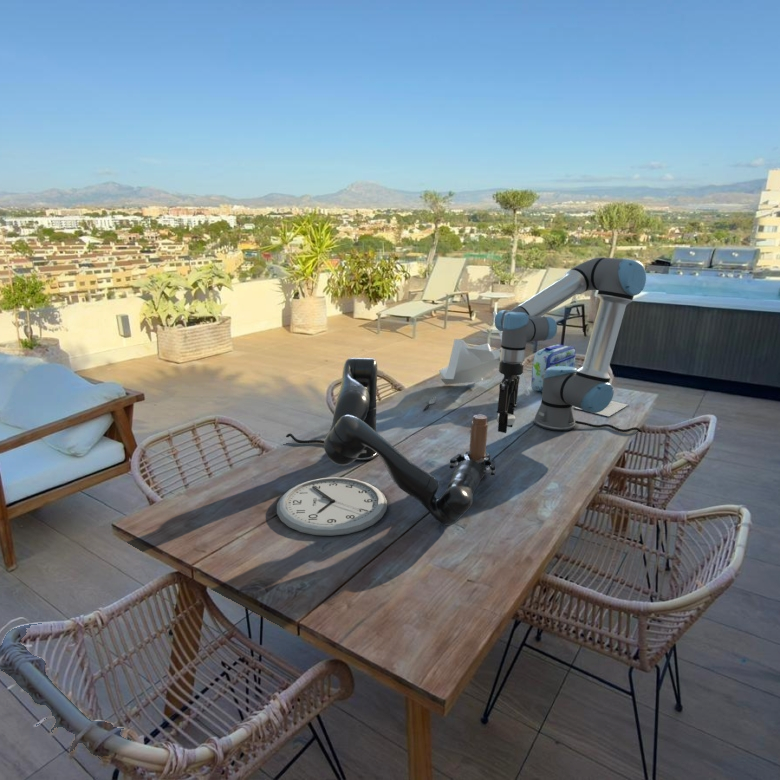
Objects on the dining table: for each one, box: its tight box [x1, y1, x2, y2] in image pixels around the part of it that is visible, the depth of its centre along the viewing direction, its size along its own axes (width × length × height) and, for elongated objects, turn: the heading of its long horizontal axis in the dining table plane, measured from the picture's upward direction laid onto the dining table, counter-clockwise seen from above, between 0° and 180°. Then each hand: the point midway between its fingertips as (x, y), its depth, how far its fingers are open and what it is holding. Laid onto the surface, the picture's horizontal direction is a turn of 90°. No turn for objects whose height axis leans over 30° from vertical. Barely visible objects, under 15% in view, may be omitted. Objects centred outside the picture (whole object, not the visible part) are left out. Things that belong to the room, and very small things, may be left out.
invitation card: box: [573, 400, 629, 418], centre depth 226 cm, size 21×1×15 cm
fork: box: [422, 395, 437, 412], centre depth 223 cm, size 3×16×2 cm, turn 160°
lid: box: [496, 413, 516, 426], centre depth 173 cm, size 6×6×2 cm
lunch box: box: [530, 344, 577, 392], centre depth 247 cm, size 26×11×21 cm, turn 134°
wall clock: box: [276, 476, 388, 537], centre depth 142 cm, size 30×2×30 cm
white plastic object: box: [438, 310, 531, 397], centre depth 245 cm, size 37×45×31 cm
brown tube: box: [468, 413, 489, 480], centre depth 158 cm, size 5×5×19 cm
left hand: (478, 454), depth 162 cm, fingers closed on brown tube, 5 cm apart
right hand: (505, 428), depth 174 cm, fingers closed on lid, 5 cm apart
